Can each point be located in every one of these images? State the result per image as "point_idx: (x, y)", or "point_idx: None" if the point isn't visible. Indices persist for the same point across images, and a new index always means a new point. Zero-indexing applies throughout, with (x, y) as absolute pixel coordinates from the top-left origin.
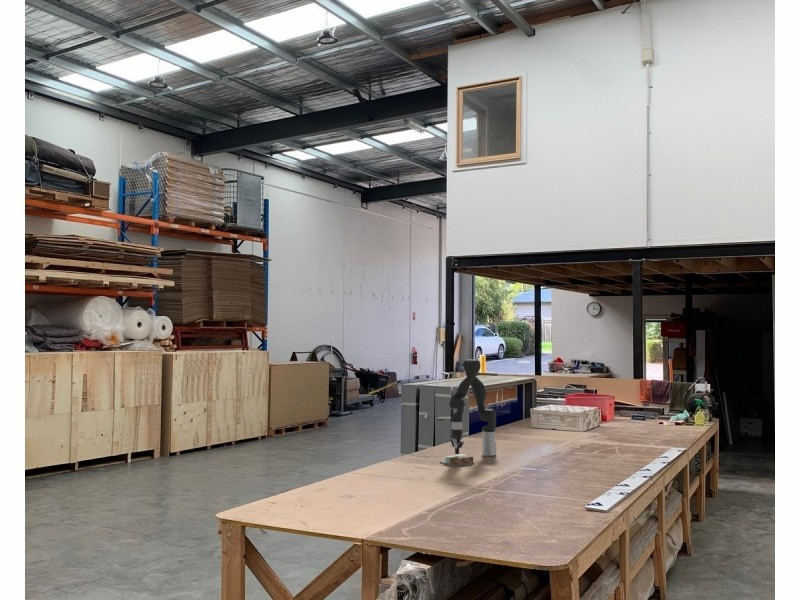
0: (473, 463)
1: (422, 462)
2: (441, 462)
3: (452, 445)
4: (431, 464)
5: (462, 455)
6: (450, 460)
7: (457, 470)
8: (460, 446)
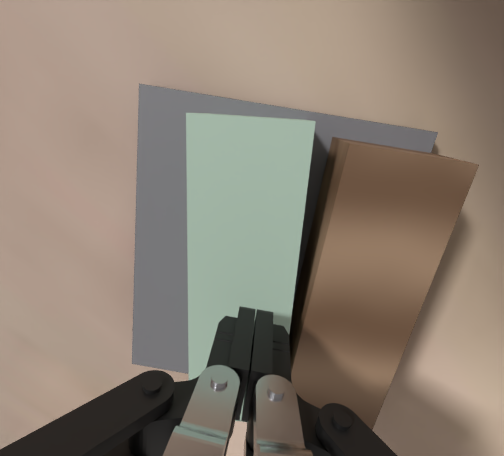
0: (427, 148)
1: (39, 415)
2: (161, 364)
3: (113, 452)
4: None
5: (279, 224)
6: None
7: (456, 442)
8: (351, 450)
